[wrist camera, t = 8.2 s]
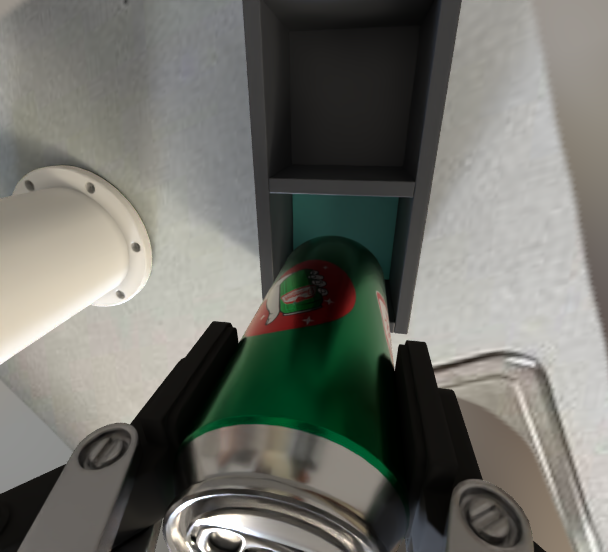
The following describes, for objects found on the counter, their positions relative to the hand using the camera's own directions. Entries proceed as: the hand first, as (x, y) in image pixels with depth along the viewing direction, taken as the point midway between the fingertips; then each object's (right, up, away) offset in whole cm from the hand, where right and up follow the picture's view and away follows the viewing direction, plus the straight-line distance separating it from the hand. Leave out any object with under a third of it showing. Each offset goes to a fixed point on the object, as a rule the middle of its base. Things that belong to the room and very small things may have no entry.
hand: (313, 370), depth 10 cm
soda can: (+1, +3, +6) cm, 7 cm away
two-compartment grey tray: (+3, +10, +12) cm, 16 cm away
